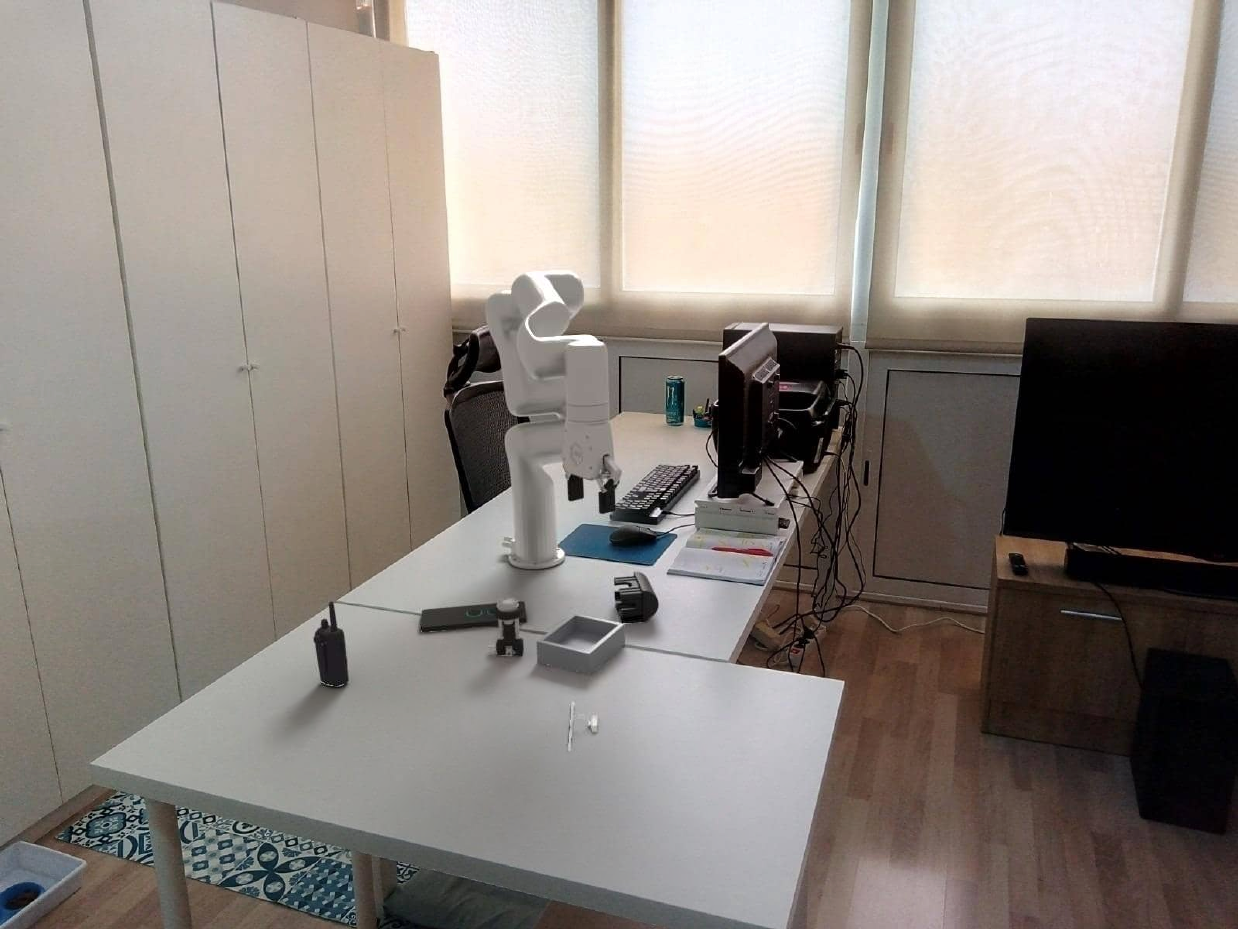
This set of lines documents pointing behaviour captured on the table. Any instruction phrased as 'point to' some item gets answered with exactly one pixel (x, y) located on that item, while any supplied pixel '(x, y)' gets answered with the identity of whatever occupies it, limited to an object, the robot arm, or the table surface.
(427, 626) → the smart home device
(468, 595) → the table surface
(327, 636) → the two-way radio
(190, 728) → the table surface
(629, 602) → the end cap
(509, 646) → the push button
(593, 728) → the picture light
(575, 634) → the rectangular tray
